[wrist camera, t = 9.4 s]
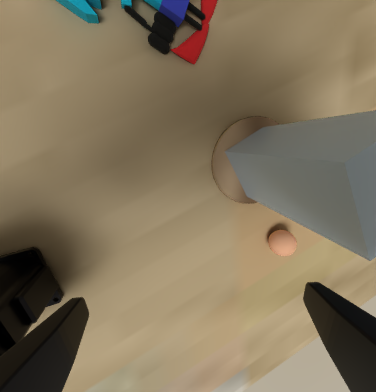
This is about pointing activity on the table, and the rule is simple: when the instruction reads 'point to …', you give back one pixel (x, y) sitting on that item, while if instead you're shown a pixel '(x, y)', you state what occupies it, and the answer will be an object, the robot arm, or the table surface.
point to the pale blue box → (316, 176)
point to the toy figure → (159, 22)
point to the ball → (282, 243)
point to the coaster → (221, 163)
